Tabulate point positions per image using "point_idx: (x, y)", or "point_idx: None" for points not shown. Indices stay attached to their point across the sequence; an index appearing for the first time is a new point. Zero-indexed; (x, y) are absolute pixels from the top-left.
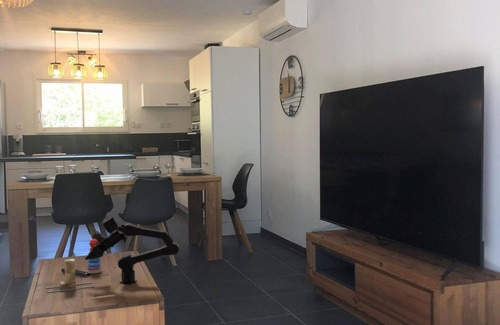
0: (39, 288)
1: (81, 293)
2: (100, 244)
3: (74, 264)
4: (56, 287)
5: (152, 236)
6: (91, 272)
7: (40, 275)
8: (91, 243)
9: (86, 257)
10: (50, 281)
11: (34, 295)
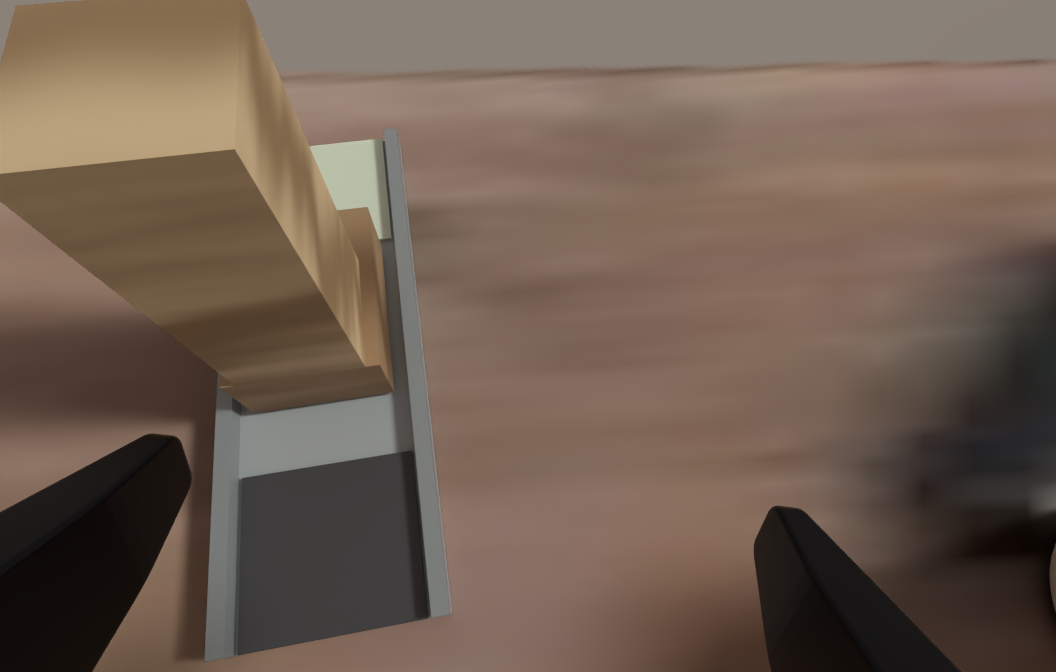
0: (493, 97)
1: None
2: None
3: (51, 230)
4: (393, 214)
5: None
6: (1054, 576)
7: (950, 70)
8: None
9: (91, 481)
10: (722, 157)
11: None
